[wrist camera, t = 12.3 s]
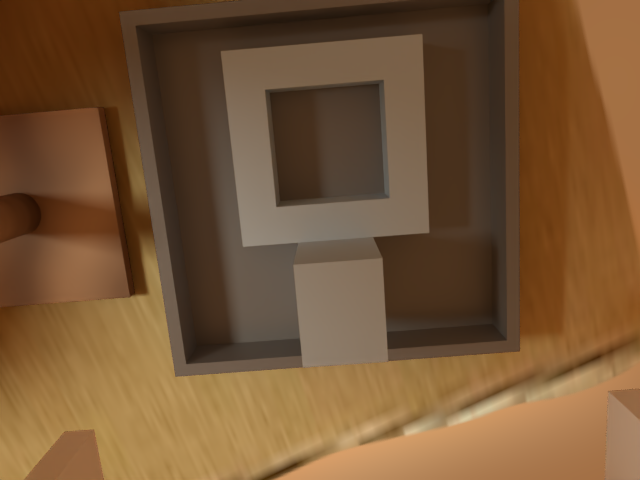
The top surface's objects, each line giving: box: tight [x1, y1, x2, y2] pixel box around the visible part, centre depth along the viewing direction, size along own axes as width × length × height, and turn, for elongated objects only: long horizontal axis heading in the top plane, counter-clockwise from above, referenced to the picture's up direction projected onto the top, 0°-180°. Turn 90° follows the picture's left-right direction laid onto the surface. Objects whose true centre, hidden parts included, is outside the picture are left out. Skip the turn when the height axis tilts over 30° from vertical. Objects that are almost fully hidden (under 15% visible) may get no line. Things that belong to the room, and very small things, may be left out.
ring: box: [221, 34, 429, 368], centre depth 26 cm, size 10×15×7 cm, turn 5°
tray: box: [119, 0, 520, 377], centre depth 28 cm, size 19×19×3 cm
